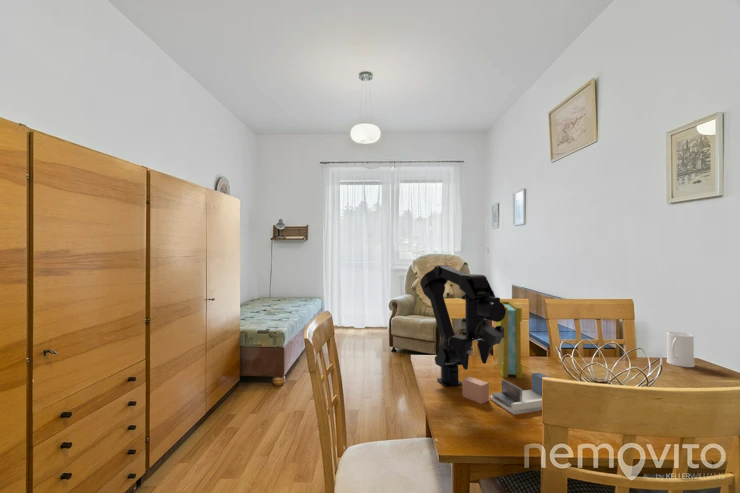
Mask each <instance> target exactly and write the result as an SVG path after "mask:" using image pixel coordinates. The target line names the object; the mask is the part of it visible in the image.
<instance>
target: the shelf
mask: <svg viewBox="0 0 740 493" xmlns="http://www.w3.org/2000/svg"><path fill="white" fill-rule="evenodd" d="M542 377H549V378H552V377H550V376H548V375H546V374H544V373H542V372H533V373H531V389H525V390H522V402H515V403H512V406H511V407H509V406H508V405H506V404H504V403H503V402H501V401H500V400H498V399H496V398H495V397H493V396H492V394H491V395H490V394H489V400H491V401H492V402H494V403H496V404H497V405H499V406H500V407H502V408H503V409H504V410H506V411H508V412H510V413H511V414H513V415H520V414H521V415H522V414H525V413H526V414H527V413H534V412H537V411H542V410H541V409H542Z"/></svg>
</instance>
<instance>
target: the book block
mask: <svg viewBox="0 0 740 493" xmlns="http://www.w3.org/2000/svg"><path fill="white" fill-rule="evenodd" d="M489 387H490V383H489V382H487V381H484V380H481V379H478V378H475V377H472V376H467V377H464V378H462V397H463V398H465V399H469V400H471V401H473V402H476V403H478V404H480V405H483V404H485V403H487V402H490V388H489Z"/></svg>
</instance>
